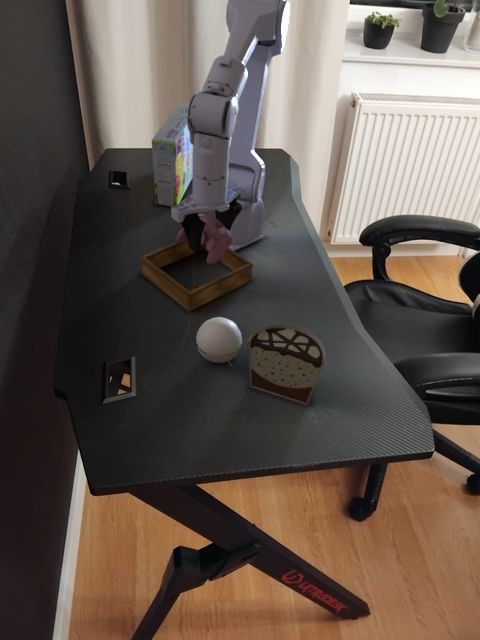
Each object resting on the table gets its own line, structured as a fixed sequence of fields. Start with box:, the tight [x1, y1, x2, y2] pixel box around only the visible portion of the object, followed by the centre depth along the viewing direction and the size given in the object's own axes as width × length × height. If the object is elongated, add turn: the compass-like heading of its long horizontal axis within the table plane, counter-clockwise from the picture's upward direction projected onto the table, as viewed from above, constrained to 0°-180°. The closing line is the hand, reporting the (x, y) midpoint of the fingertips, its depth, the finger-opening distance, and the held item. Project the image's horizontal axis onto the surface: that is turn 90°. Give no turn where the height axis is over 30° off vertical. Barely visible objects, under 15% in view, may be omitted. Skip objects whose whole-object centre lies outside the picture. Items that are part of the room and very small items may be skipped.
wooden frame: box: [139, 235, 254, 312], centre depth 107 cm, size 15×14×4 cm
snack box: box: [151, 103, 193, 208], centre depth 128 cm, size 21×6×15 cm, turn 172°
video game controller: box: [175, 213, 232, 265], centre depth 100 cm, size 10×5×7 cm, turn 45°
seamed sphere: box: [194, 316, 243, 367], centre depth 89 cm, size 10×7×7 cm
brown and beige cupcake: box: [244, 323, 328, 406], centre depth 86 cm, size 12×6×10 cm, turn 71°
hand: (208, 244), depth 101 cm, fingers closed on video game controller, 6 cm apart
